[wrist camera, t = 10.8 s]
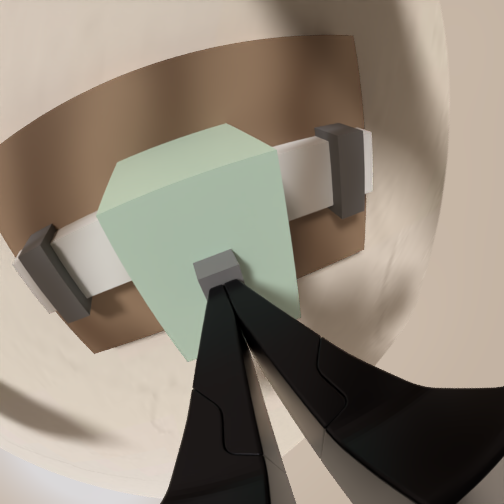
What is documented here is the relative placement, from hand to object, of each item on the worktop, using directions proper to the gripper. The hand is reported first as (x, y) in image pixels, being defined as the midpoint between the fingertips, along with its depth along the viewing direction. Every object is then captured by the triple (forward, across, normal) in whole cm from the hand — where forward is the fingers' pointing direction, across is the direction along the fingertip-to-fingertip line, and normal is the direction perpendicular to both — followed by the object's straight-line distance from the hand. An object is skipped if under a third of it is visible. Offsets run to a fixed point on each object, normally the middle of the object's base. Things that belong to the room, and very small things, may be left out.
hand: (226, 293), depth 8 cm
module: (+6, 0, 0) cm, 6 cm away
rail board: (+8, 0, 0) cm, 8 cm away
